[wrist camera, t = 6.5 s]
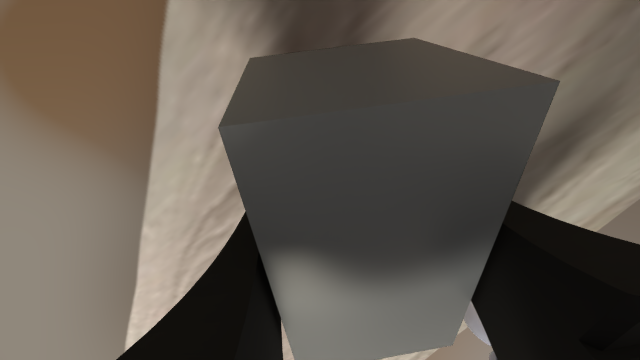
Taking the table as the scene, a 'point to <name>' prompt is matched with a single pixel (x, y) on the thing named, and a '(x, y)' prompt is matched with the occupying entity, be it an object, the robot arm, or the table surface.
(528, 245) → the robot arm
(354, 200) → the grey rectangular box
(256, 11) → the table surface
